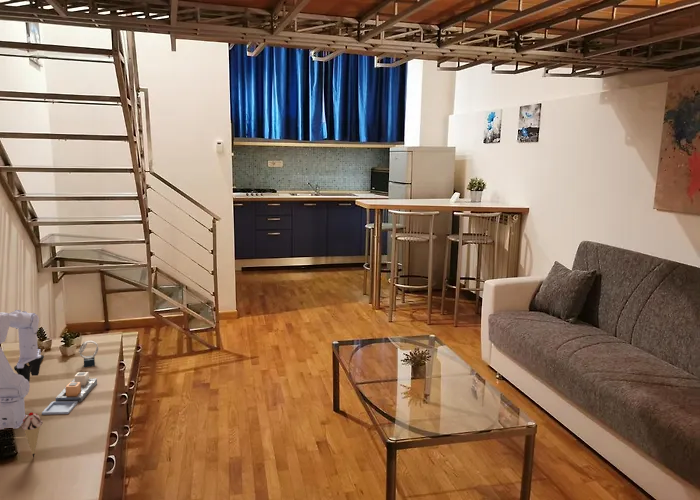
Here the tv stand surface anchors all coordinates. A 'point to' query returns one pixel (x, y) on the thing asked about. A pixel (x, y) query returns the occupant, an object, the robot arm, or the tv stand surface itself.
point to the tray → (59, 407)
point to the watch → (88, 360)
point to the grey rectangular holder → (84, 392)
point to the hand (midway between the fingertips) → (30, 379)
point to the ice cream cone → (32, 429)
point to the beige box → (82, 378)
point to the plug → (73, 389)
